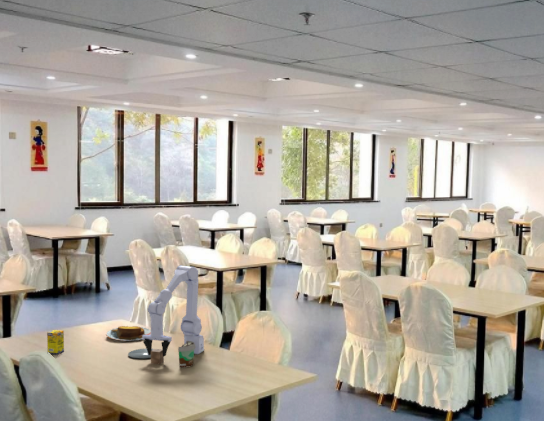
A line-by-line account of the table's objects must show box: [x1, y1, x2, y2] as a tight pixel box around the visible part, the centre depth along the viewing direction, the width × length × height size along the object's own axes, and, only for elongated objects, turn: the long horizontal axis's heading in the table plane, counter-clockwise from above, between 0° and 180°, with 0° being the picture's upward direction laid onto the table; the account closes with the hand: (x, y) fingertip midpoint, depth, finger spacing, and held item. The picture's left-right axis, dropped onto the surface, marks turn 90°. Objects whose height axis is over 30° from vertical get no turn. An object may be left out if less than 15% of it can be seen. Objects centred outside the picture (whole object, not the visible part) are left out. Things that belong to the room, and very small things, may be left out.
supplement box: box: [46, 329, 65, 356], centre depth 338 cm, size 6×6×11 cm
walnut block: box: [150, 348, 165, 365], centre depth 321 cm, size 4×4×6 cm
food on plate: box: [105, 325, 151, 342], centre depth 370 cm, size 25×25×7 cm
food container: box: [177, 341, 196, 368], centre depth 317 cm, size 12×6×10 cm, turn 168°
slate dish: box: [127, 348, 155, 359], centre depth 334 cm, size 16×16×1 cm
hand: (157, 355), depth 321 cm, fingers open, 7 cm apart
